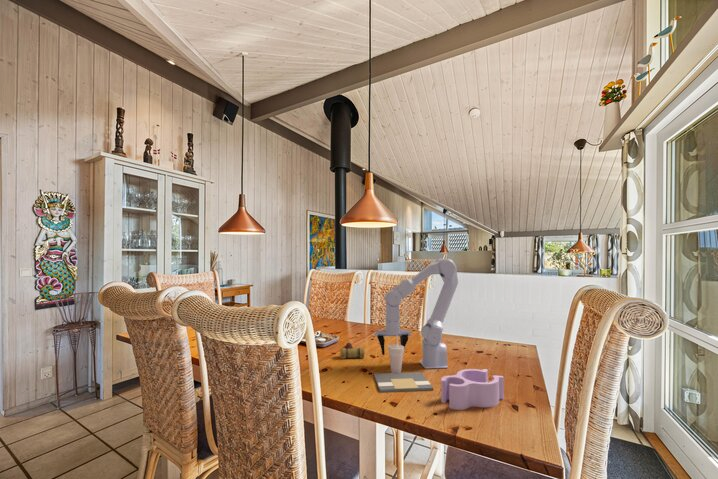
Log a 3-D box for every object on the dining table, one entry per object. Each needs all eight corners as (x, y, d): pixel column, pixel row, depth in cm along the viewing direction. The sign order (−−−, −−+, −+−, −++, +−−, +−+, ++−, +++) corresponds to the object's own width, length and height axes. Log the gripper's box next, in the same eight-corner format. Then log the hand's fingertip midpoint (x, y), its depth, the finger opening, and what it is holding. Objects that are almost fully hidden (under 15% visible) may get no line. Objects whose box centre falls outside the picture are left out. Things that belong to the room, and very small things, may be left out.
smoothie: (400, 376, 118) (400, 338, 118) (384, 373, 121) (384, 335, 122) (407, 371, 123) (407, 334, 124) (392, 367, 127) (392, 332, 127)
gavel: (338, 339, 157) (358, 338, 158) (338, 349, 156) (358, 348, 158) (341, 349, 136) (364, 348, 138) (341, 360, 136) (364, 359, 137)
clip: (460, 415, 90) (459, 390, 90) (433, 397, 101) (432, 375, 102) (511, 402, 98) (510, 379, 98) (480, 386, 109) (480, 366, 110)
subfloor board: (421, 374, 120) (421, 371, 120) (433, 390, 106) (433, 387, 106) (374, 375, 118) (374, 373, 118) (380, 392, 104) (380, 389, 104)
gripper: (407, 318, 134) (407, 350, 134) (373, 318, 133) (373, 351, 132) (411, 321, 127) (411, 355, 127) (376, 322, 126) (375, 356, 125)
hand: (392, 354), depth 129 cm, fingers open, 7 cm apart
